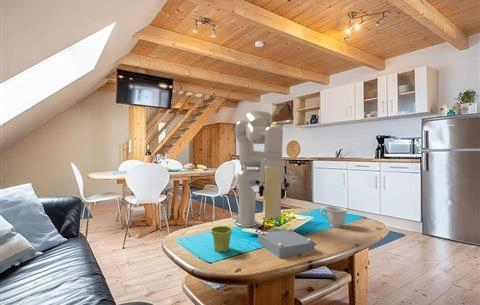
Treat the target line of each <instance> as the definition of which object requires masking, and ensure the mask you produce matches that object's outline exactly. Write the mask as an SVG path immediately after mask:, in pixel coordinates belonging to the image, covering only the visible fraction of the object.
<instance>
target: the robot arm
mask: <svg viewBox="0 0 480 305" xmlns="http://www.w3.org/2000/svg"><path fill="white" fill-rule="evenodd" d="M244 117H245V119H243V120H239V121H237V122H236V123H235V127H234V128H235V129H234V130H235V136H236V140H237V142H238V148H239V150H238V152H239V154H238V155H239V164H240V166H241V167H244V169H241V170H240V171H238V174H237V182H238V215H236V214H232V216H231V218H232V220H236V221H235V225H236V226H238V227H243V228H251V227H250V226H253V225H255V224H257V225H258V220H257V221H256V192H255V191H254V189H253V188H252V187H258V194H259V197H263V190H264V187H263V184H264V183H265V181H263V172H265V166H268V167H280V168H279V180H278V183H279V184H281V200H283V199H284V198H285V197H286V189H287V187H289V186H290V185H291V183H292V182H293V181H294V180H293V178H292V177H291V176H289V175H287V174H286V170H285V169H286V168H285V162H284V159H283V142H284V140H283V139H284V138H283V137H284V136H283V135H284V134H283V133H284V130H283V128H282V127H280V126H272V124H273V115H272V114H271V112H269V111H259V110H251V111H248V112H247V113H246V115H245V116H244ZM254 145H264V146H263V147H264V149H263V150H262V151H261V150H258V151H257V150H254ZM245 168H247V169H245ZM249 168H250V169H249ZM252 168H257V169H252ZM285 179H286V180H287V183H285Z"/></svg>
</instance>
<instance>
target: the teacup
mask: <svg viewBox="0 0 480 305" xmlns="http://www.w3.org/2000/svg"><path fill="white" fill-rule="evenodd" d="M323 211H324V213H326V215H325V214H324V213H323ZM348 211H349V210H348V209H347V208H345V207H341V206H334V205H333V206H326V207H325V208H324V207H321V209H320V211H319V212H320V215H321V216H323V217H324V218H326V219H327V221H328V223H329V224H330V226H331V227H333V228H342V225H343V224H345V221H346V215H347V212H348Z"/></svg>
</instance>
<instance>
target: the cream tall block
mask: <svg viewBox="0 0 480 305" xmlns="http://www.w3.org/2000/svg"><path fill="white" fill-rule="evenodd" d="M279 168H280V167H268V166H265V172H263V181H265V183H264V184H263V187H264V190H263V196H262V197H263V199H262V214H263V216H264V218H274V219H275V218H281V216H282V215H281V211H282V210H281V208H282V199H281V189H282V187H281V184H279V183H278V180H279Z"/></svg>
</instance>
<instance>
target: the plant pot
mask: <svg viewBox="0 0 480 305" xmlns="http://www.w3.org/2000/svg"><path fill="white" fill-rule="evenodd" d="M210 231H211V234H212V239H213V247H214V250H215V251H216V252H227V251H228V250H229V249H230V242H231V236H232V232H233V231H234V230H233V228H232V227H230V226H226V225H225V226H224V225H219V226H214V227H212V228H210Z"/></svg>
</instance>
